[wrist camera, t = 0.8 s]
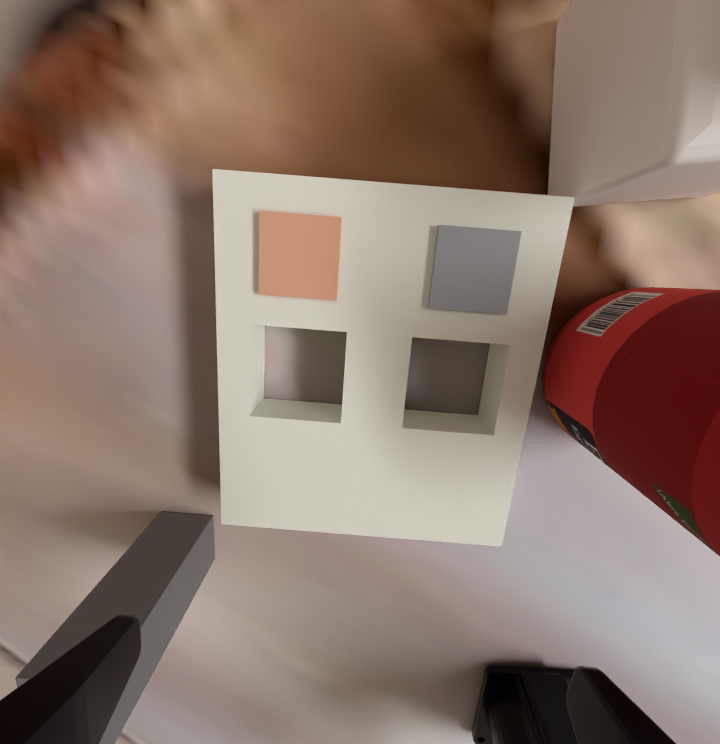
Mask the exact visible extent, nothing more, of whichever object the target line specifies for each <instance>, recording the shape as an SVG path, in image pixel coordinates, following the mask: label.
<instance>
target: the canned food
mask: <svg viewBox="0 0 720 744" xmlns="http://www.w3.org/2000/svg"><path fill="white" fill-rule="evenodd" d="M542 380H543V391H544V395H545V398H546V402H547V404H548V407H549V409H550V411H551V413H552V415H553V417H554V418H555V420H556V422H557V423H558V424H559V425H560V426H561V427H562V428H563V430H564V431H565V432H567V433H568V434H569V435H570V436H571V437H573V438H574V439H575V440H576V441H578V442H579V443H580V444H581V445H583V446H584V447H585V448H586V449H588V450H589V451H590V452H591V453H593V454H594V455H595V456H596V457H597V458H599V459H600V460H601V461H602V462H604V463H605V464H606V465H607V466H609V467H610V468H611V469H612V470H614V471H615V472H616V473H617V474H619V475H620V476H621V477H622V478H623V479H625V480H626V481H627V482H628V483H630V484H631V485H632V486H633V487H635V488H636V489H637V490H638V491H640V492H641V493H642V494H643V495H645V496H646V497H647V498H648V499H650V500H651V501H652V502H653V503H654V504H656V505H657V506H658V507H659V508H661V509H662V510H663V511H664V512H666V513H667V514H668V515H669V516H671V517H672V518H673V519H674V520H676V521H677V522H678V523H679V524H680V525H682V526H683V527H684V528H685V529H687V530H688V531H689V532H690V533H692V534H693V535H694V536H695V537H697V538H698V539H699V540H700V541H702V542H703V543H704V544H705V545H707V546H708V547H709V548H710V549H711V550H713V551H714V552H715V553H716V554H718V555H719V556H720V290H707V289H681V288H654V287H652V288H633V289H629V290H624V291H620V292H617V293H614V294H612V295H609V296H607V297H604V298H602V299H599V300H597V301H595V302H593V303H591V304H589V305H588V306H586V307H585V308H583V309H582V310H580V311H579V312H578V313H576V314H575V315H574V316H573V317H572V318H571V319H570V320H569V321H567V322H566V324H565V325H564V326H563V327H562V329H561V330H560V331H559V332H558V334H557V335H556V337H555V339H554V340H553V342H552V344H551V346H550V348H549V350H548V353H547V356H546V359H545V362H544V368H543V375H542Z"/></svg>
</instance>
